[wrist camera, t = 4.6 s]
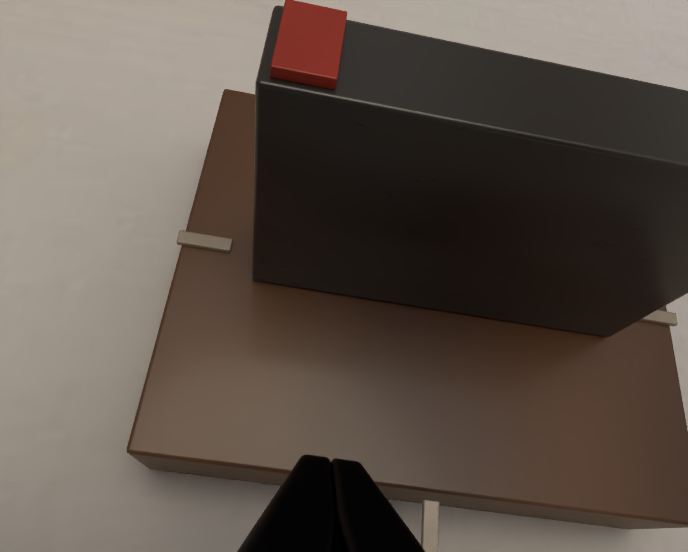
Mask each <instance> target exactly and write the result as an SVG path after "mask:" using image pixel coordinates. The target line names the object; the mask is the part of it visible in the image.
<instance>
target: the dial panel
mask: <svg viewBox="0 0 688 552" xmlns="http://www.w3.org/2000/svg"><path fill="white" fill-rule="evenodd" d="M254 145H255V95H254V94H249V93H244V92H239V91H233V90H228V89H225V90H224V92H223V95H222V98H221V102H220V106H219V110H218V113H217V117H216V121H215V124H214V128H213V132H212V135H211V139H210V143H209V147H208V150H207V154H206V158H205V161H204V165H203V169H202V172H201V176H200V180H199V183H198V187H197V191H196V195H195V198H194V202H193V206H192V209H191V213H190V217H189V220H188V224H187V228H186V231H179V235H178V238H177V244H178V245H182V246H181V250H180V254H179V257H178V261H177V265H176V269H175V272H174V276H173V280H172V283H171V287H170V291H169V294H168V298H167V302H166V305H165V309H164V313H163V317H162V320H161V324H160V328H159V331H158V335H157V339H156V342H155V346H154V350H153V354H152V357H151V361H150V365H149V368H148V372H147V376H146V379H145V383H144V387H143V390H142V394H141V398H140V402H139V405H138V409H137V413H136V416H135V420H134V424H133V427H132V431H131V435H130V439H129V442H128V446H127V453H129V454H130V455H131V456H133V457H134V458H135V459H137V460H138V461H140V462H141V463H142V464H144V465H145V466H146V467H148V468H149V469H155V470H163V471H171V472H179V473H187V474H195V475H203V476H211V477H219V478H227V479H235V480H243V481H251V482H259V483H266V484H274V485H282V484H283V483H284V481H285V480H286V478H287V477H288V475H289V474H290V472H291V471H292V469H293V468H294V466H295V465H296V463H297V462H298V460H299V459H300V457H301V456H302V455H306V454H307V455H315V456H322V457H327V458H328V459H330V461H332V460H333V459H335V458H337V459H345V460H353V461H358V462H359V463H361V464H362V466H363V467H364V468H365V470H366V471H367V472H368V474H369V475H370V477H371V478H372V479H373V481H374V482H375V483H376V485H377V486H378V487H379V489H380V490H381V492H382V493H383V494H384V496H385V497H386V498H387V499H393V500H401V501H409V502H417V503H422V530H421V546H422V548H423V549H424V550H425V552H438V532H439V505H441V506H449V507H457V508H465V509H473V510H481V511H489V512H497V513H505V514H512V515H520V516H528V517H536V518H544V519H552V520H560V521H568V522H576V523H584V524H592V525H600V526H608V527H616V528H624V529H652V528H682V527H688V431H687V426H686V420H685V414H684V408H683V402H682V397H681V391H680V385H679V379H678V373H677V368H676V362H675V356H674V350H673V344H672V338H671V333H670V327H669V325H670V326H676V325H677V318H676V313H671V312H667V309H666V305H665V306H664V307H662V308H660V309H658V310H657V311H655V312H653V313H651V314H649V315H648V316H646V317H644V318H642V319H641V320H639V321H637V322H635V323H634V324H632V325H630V326H628V327H626V328H625V329H623V330H621V331H619V332H618V333H616V334H614V335H612V336H610V337H605V336H599V335H593V334H587V333H580V332H574V331H568V330H562V329H556V328H549V327H543V326H537V325H531V324H524V323H518V322H512V321H506V320H500V319H493V318H487V317H481V316H475V315H468V314H462V313H456V312H450V311H444V310H437V309H431V308H425V307H419V306H412V305H406V304H400V303H394V302H387V301H381V300H375V299H369V298H363V297H356V296H350V295H344V294H338V293H331V292H325V291H319V290H313V289H307V288H300V287H294V286H288V285H282V284H275V283H269V282H263V281H257V280H254V279H253V278H252V256H253V201H254Z"/></svg>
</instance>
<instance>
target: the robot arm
mask: <svg viewBox="0 0 688 552" xmlns="http://www.w3.org/2000/svg"><path fill="white" fill-rule="evenodd" d="M237 552H425V550H424V549H423V548H422V546H421V545H420V543H419V542H418V541H417V539H416V538H415V537H414V535H413V534H412V533H411V531H410V530H409V528H408V527H407V526H406V524H405V523H404V522H403V520H402V519H401V518H400V516H399V515H398V513H397V512H396V511H395V509H394V508H393V507H392V505H391V504H390V502H389V501H388V500H387V498H386V497H385V496H384V494H383V493H382V492H381V490H380V489H379V487H378V486H377V485H376V483H375V482H374V481H373V479H372V478H371V477H370V475H369V474H368V472H367V471H366V470H365V468H364V467H363V466H362V464H361V463H359V462H358V461H353V460H345V459H337V458H335V459H333V460H332V461H330V459H328V458H327V457H322V456H315V455H307V454H306V455H302V456H301V457H300V459H299V460H298V462H297V463H296V465H295V466H294V468H293V469H292V471H291V472H290V474H289V475H288V477H287V478H286V480H285V481H284V483H283V484H282V486H281V487H280V488H279V490H278V491H277V493H276V494H275V496H274V497H273V499H272V500H271V502H270V503H269V505H268V506H267V508H266V509H265V511H264V512H263V514H262V515H261V517H260V518H259V520H258V521H257V523H256V524H255V526H254V527H253V529H252V530H251V532H250V533H249V535H248V536H247V538H246V539H245V541H244V542H243V544H242V545H241V547H240V548H239V550H238V551H237Z"/></svg>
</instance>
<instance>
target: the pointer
mask: <svg viewBox="0 0 688 552" xmlns="http://www.w3.org/2000/svg"><path fill="white" fill-rule="evenodd" d="M346 18H347V12H346V11H342V10H337V9H332V8H327V7H323V6H318V5H313V4H308V3H303V2H299V1H294V0H285V4H284V7H283V6H275V8H274V9H273V12H272V16H271V20H270V25H269V29H268V33H267V37H266V41H265V46H264V50H263V54H262V58H261V63H260V67H259V71H258V75H257V79H256V90H255V145H254V201H253V256H252V278H253V279H254V280H257V281H263V282H269V283H275V284H282V285H288V286H294V287H300V288H307V289H313V290H319V291H325V292H331V293H338V294H344V295H350V296H356V297H363V298H369V299H375V300H381V301H387V302H394V303H400V304H406V305H412V306H419V307H425V308H431V309H437V310H444V311H450V312H456V313H462V314H468V315H475V316H481V317H487V318H493V319H500V320H506V321H512V322H518V323H524V324H531V325H537V326H543V327H549V328H556V329H562V330H568V331H574V332H580V333H587V334H593V335H599V336H605V337H610V336H612V335H614V334H616V333H618V332H619V331H621V330H623V329H625V328H626V327H628V326H630V325H632V324H634V323H635V322H637V321H639V320H641V319H642V318H644V317H646V316H648V315H649V314H651V313H653V312H655V311H657V310H658V309H660V308H662V307H664V306H665V305H667V304H669V303H671V302H672V301H674V300H676V299H678V298H680V297H681V296H683V295H685V294H687V293H688V91H686V90H681V89H676V88H671V87H667V86H662V85H657V84H652V83H648V82H643V81H638V80H633V79H628V78H624V77H619V76H614V75H609V74H604V73H600V72H595V71H590V70H585V69H580V68H576V67H571V66H566V65H561V64H556V63H552V62H547V61H542V60H537V59H532V58H528V57H523V56H518V55H513V54H508V53H504V52H499V51H494V50H489V49H484V48H480V47H475V46H470V45H465V44H461V43H456V42H451V41H446V40H441V39H437V38H432V37H427V36H422V35H417V34H413V33H408V32H403V31H398V30H393V29H389V28H384V27H379V26H374V25H369V24H365V23H360V22H355V21H350V20H346Z"/></svg>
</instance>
